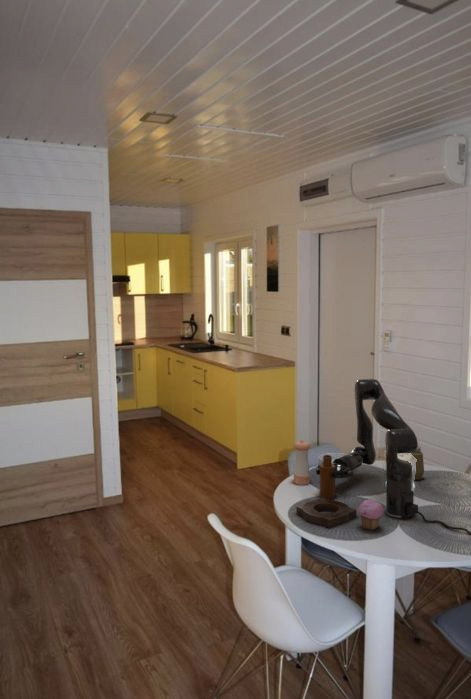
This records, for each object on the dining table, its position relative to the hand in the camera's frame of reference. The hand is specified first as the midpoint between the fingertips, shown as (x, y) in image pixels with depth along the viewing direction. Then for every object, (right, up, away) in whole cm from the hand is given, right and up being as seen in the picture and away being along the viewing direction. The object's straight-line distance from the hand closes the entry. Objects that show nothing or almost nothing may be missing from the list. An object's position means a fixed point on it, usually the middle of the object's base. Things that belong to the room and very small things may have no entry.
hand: (324, 473), depth 238 cm
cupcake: (+12, -13, -29) cm, 35 cm away
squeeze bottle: (+45, -7, +23) cm, 50 cm away
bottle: (+2, -10, +3) cm, 10 cm away
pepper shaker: (-7, -8, +20) cm, 23 cm away
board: (-2, -12, -18) cm, 22 cm away
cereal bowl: (+11, -6, +33) cm, 35 cm away
